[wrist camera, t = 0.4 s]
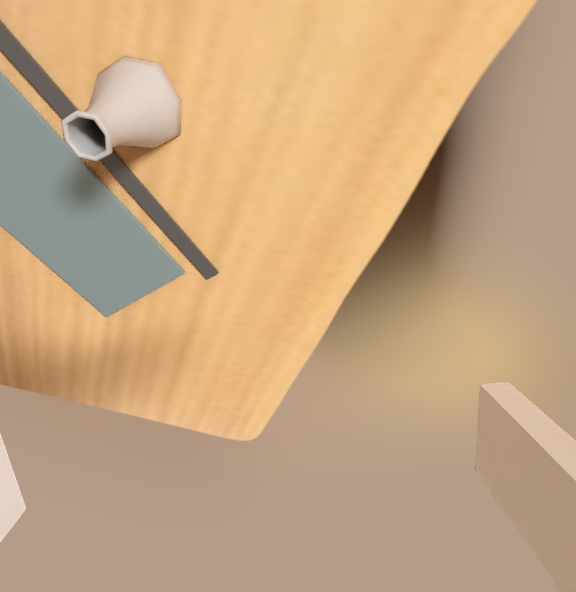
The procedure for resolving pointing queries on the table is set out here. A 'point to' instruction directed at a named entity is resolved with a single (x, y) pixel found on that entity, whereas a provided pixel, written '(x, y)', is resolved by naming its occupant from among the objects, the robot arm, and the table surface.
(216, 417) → the table surface
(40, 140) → the mat
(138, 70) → the flask
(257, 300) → the table surface
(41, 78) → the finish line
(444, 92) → the table surface
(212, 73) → the table surface
